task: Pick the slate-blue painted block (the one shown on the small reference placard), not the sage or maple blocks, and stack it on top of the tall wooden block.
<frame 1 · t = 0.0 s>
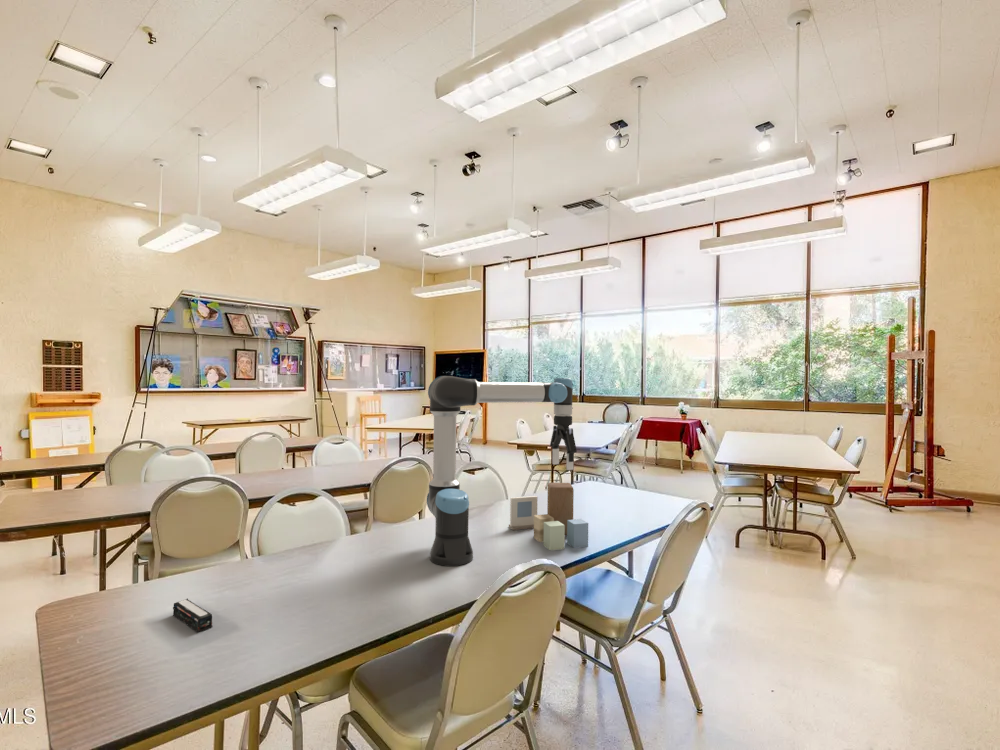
hand: (562, 467, 206), 28 cm above the table, tool pointing down, fingers open, 13 cm apart
wooden block: (559, 533, 209), on the table
bus: (191, 628, 128), on the table
sage block: (553, 547, 191), on the table
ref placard: (523, 527, 216), on the table
maple block: (543, 539, 200), on the table
slate blue block: (577, 544, 194), on the table
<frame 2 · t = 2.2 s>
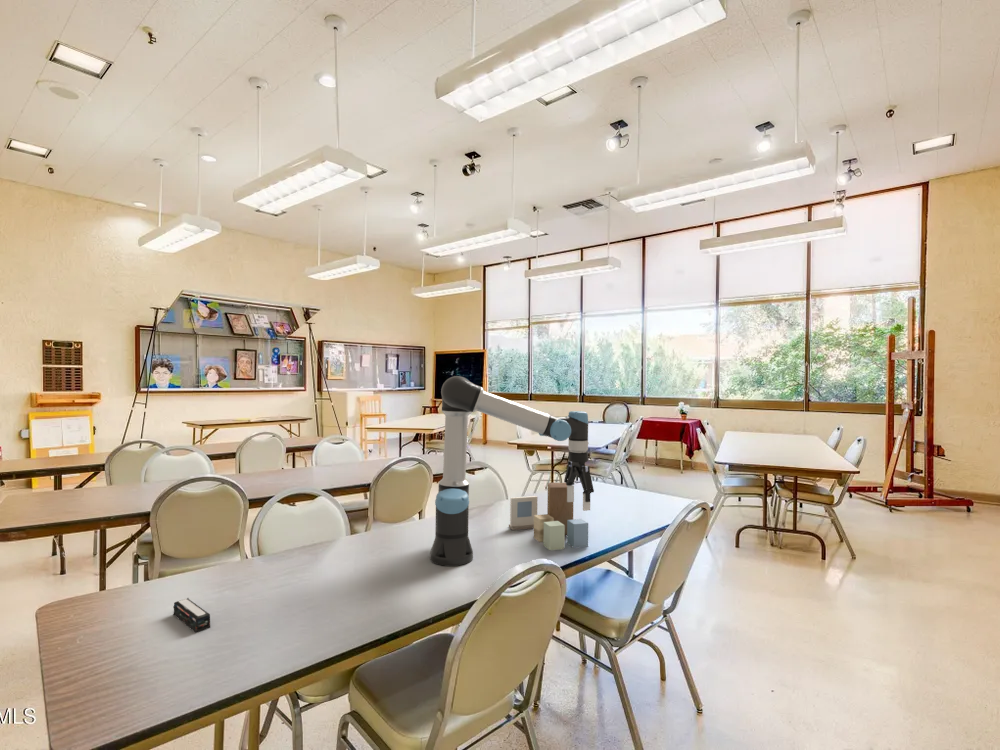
hand: (578, 506, 194), 15 cm above the table, tool pointing down, fingers open, 13 cm apart
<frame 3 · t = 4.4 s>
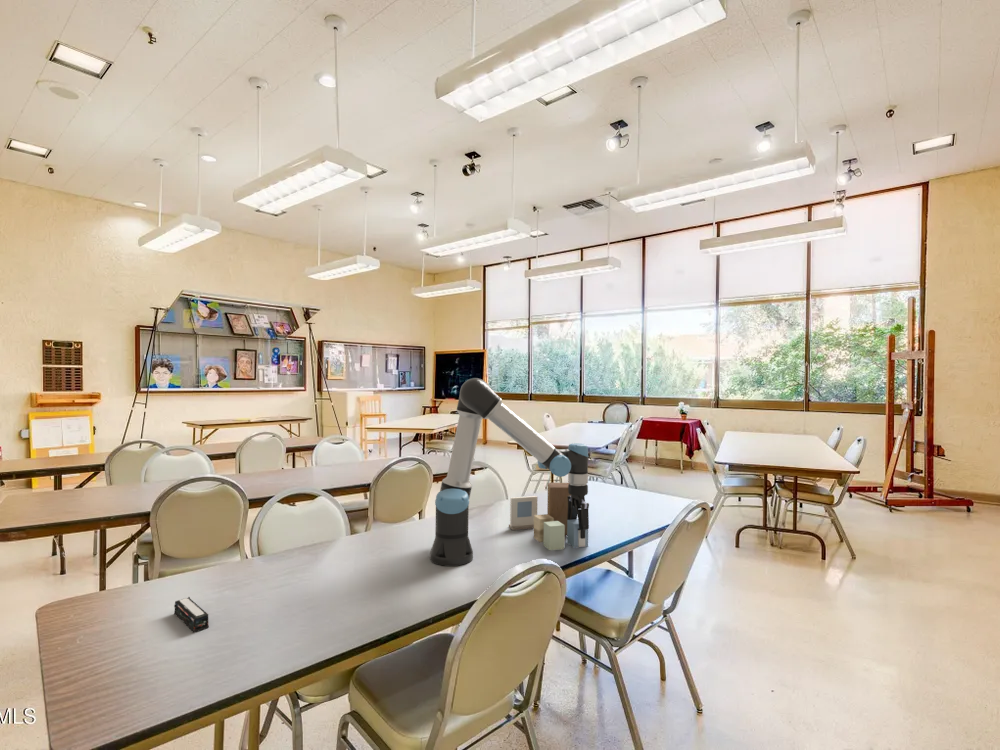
hand: (577, 543, 194), 0 cm above the table, tool pointing down, fingers closed on slate blue block, 6 cm apart
slate blue block: (577, 544, 194), on the table, touching gripper
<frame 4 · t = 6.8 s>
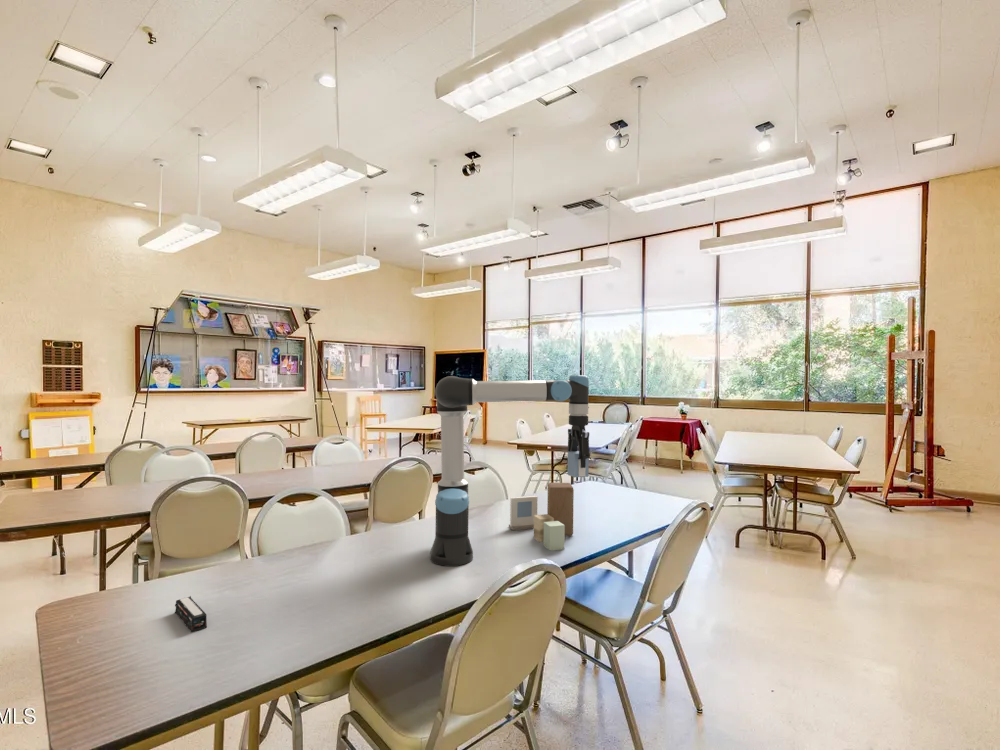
hand: (577, 474, 194), 27 cm above the table, tool pointing down, fingers closed on slate blue block, 6 cm apart
slate blue block: (577, 475, 194), point 27 cm above the table, touching gripper
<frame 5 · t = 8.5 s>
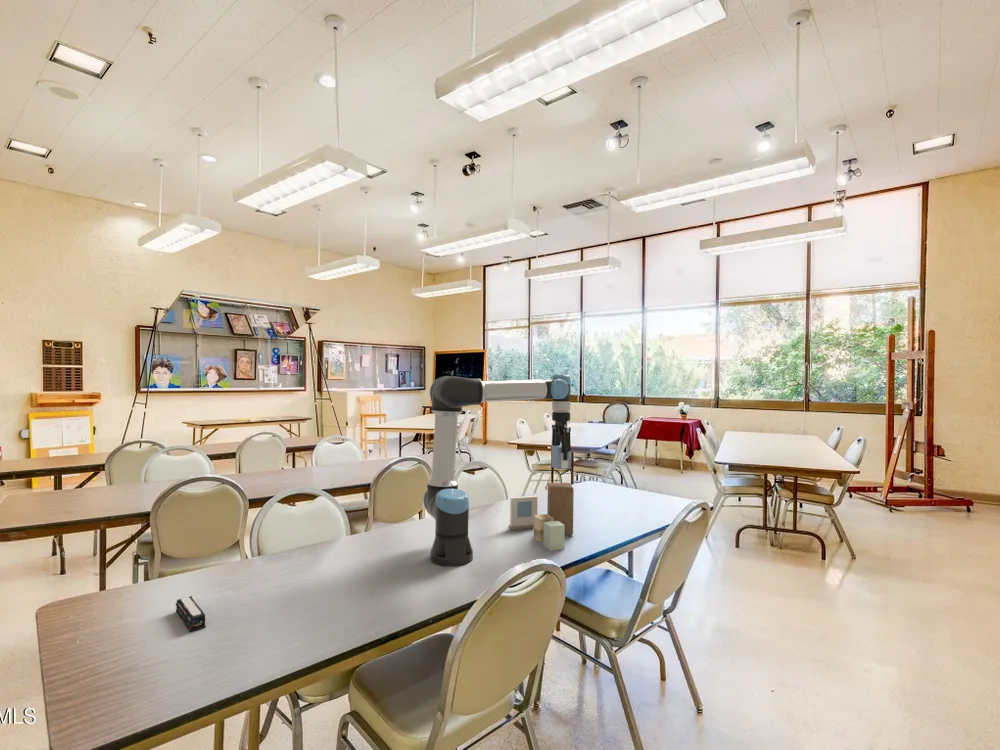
hand: (560, 466, 209), 28 cm above the table, tool pointing down, fingers closed on slate blue block, 6 cm apart
slate blue block: (560, 467, 209), point 27 cm above the table, touching gripper
when the fingers open (23 cm above the table, at t = 9.4 s): slate blue block drops 3 cm, resting on wooden block.
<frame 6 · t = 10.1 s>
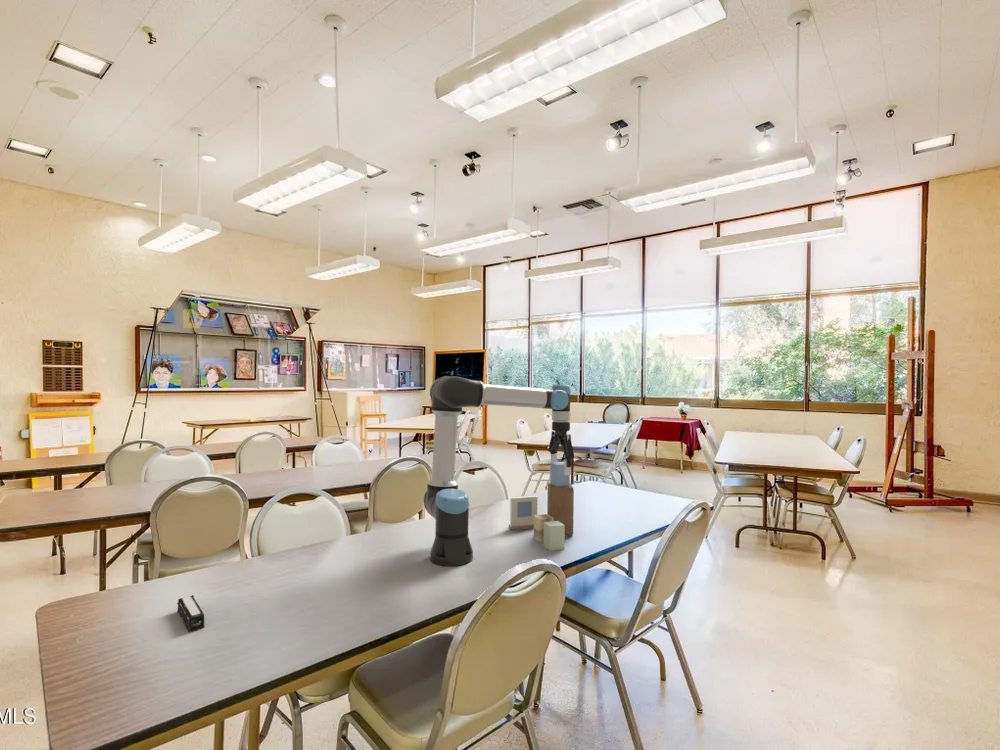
hand: (560, 472, 209), 25 cm above the table, tool pointing down, fingers open, 13 cm apart
wooden block: (560, 533, 209), on the table, touching slate blue block
slate blue block: (559, 484, 209), point 20 cm above the table, touching wooden block
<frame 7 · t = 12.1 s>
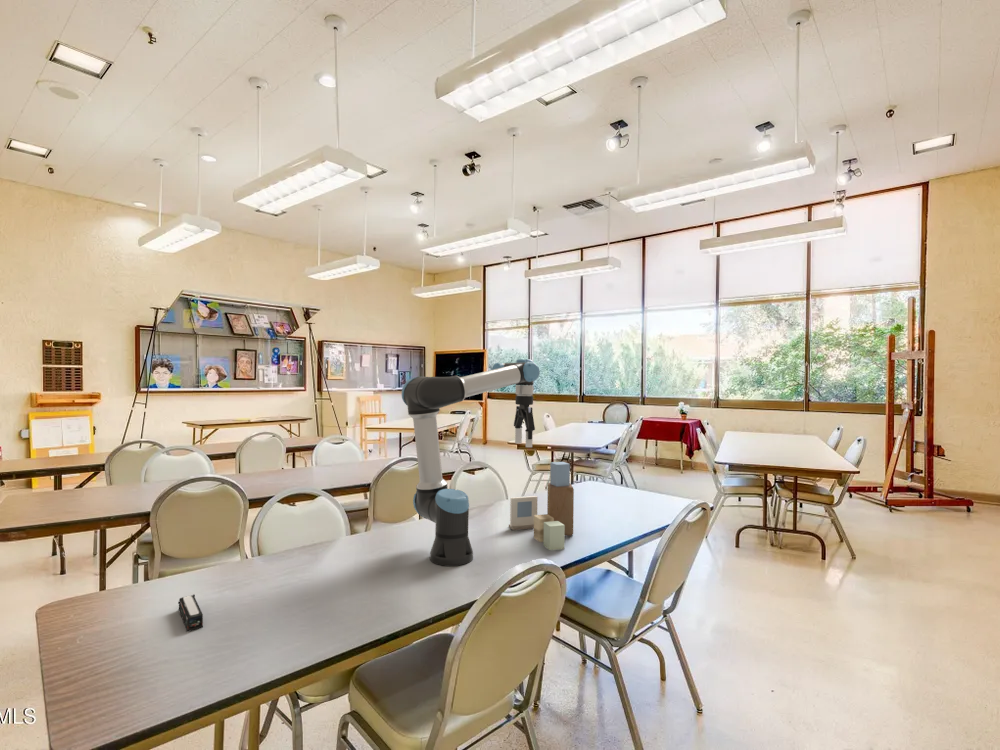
hand: (523, 445, 213), 36 cm above the table, tool pointing down, fingers open, 13 cm apart
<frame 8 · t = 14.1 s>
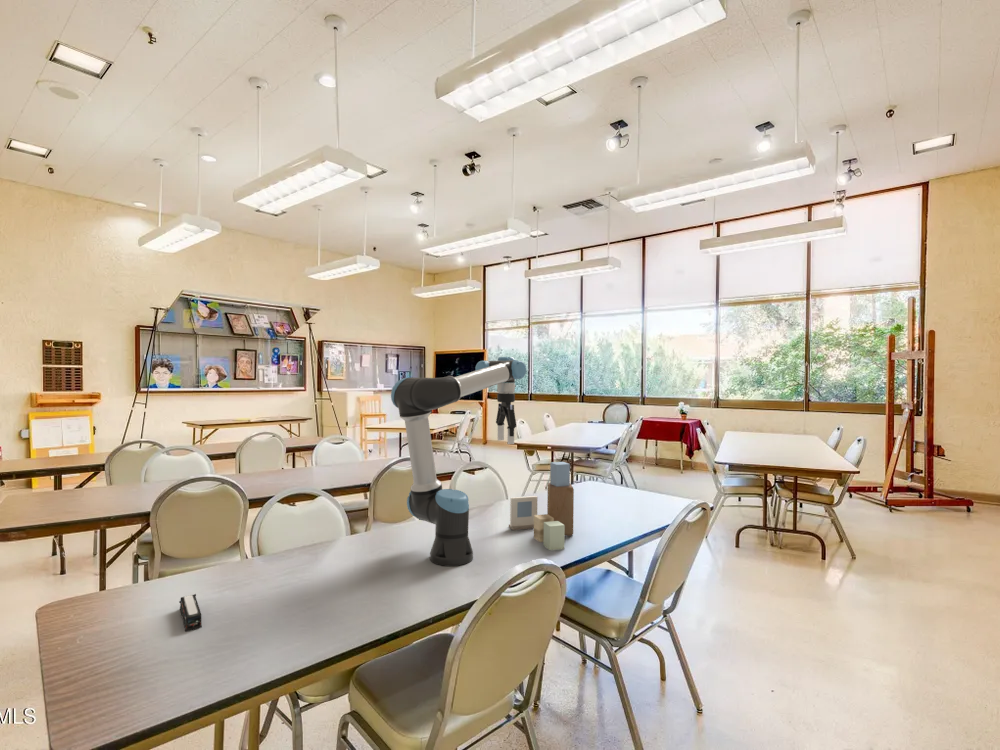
hand: (505, 442, 216), 37 cm above the table, tool pointing down, fingers open, 13 cm apart
at the end: slate blue block inside the target area on the wooden block (0.3 cm from its centre), point 20.2 cm above the wooden block's base; slate blue block tilted 0°; the gripper is holding nothing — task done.
